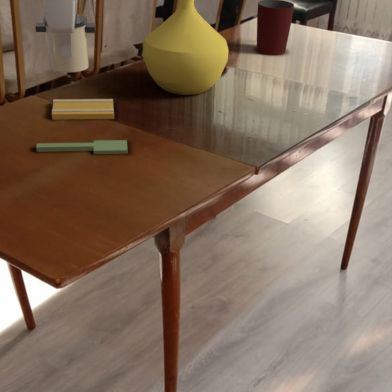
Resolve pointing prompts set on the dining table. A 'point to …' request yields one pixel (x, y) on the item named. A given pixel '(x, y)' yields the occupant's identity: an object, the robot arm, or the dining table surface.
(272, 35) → the mug
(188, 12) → the vase
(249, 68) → the dining table surface
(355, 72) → the dining table surface
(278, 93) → the dining table surface
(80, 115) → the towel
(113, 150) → the spatula
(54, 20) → the robot arm
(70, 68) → the pot
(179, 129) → the dining table surface
